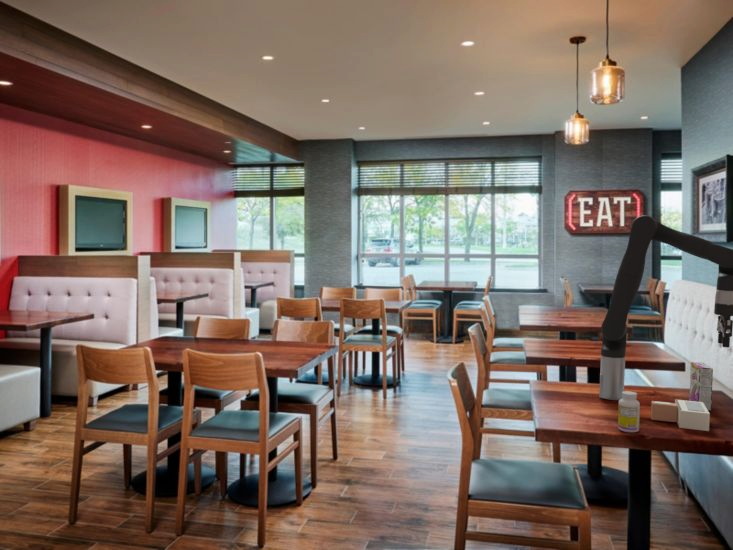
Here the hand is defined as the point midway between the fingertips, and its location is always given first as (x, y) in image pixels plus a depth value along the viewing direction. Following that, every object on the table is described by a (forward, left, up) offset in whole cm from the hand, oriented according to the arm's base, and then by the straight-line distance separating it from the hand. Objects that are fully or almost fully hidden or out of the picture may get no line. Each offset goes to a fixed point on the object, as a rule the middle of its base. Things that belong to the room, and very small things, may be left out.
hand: (723, 345), depth 228 cm
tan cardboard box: (-21, -20, -25) cm, 39 cm away
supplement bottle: (-33, -38, -26) cm, 57 cm away
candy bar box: (-6, +6, -26) cm, 27 cm away
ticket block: (-12, -21, -25) cm, 35 cm away
